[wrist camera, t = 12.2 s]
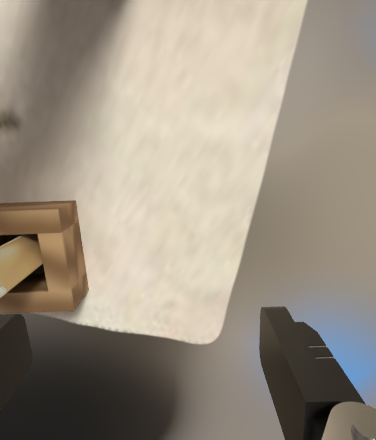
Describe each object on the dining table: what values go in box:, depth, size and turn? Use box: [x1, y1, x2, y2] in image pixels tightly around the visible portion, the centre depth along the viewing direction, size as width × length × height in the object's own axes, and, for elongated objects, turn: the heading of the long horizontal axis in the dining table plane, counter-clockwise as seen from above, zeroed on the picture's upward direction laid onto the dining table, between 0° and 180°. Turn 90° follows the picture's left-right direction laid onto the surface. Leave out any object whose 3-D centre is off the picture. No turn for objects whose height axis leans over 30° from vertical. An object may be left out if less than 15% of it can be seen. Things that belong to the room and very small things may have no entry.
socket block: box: [0, 201, 89, 313], centre depth 36 cm, size 13×13×5 cm
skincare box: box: [0, 234, 43, 298], centre depth 33 cm, size 6×4×12 cm
